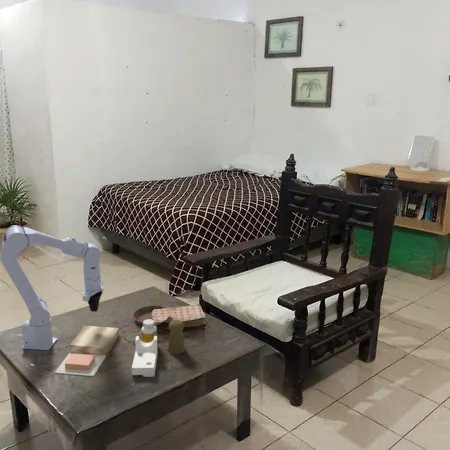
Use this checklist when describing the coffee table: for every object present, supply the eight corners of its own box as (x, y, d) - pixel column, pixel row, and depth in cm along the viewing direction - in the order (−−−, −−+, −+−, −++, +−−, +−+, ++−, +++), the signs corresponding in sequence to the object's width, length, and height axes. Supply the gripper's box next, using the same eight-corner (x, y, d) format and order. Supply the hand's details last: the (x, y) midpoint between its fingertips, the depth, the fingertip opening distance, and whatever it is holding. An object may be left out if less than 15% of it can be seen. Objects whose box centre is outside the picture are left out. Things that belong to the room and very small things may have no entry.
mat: (54, 373, 159) (54, 372, 159) (69, 353, 170) (69, 352, 170) (93, 376, 158) (93, 375, 157) (106, 356, 169) (106, 355, 169)
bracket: (137, 355, 170) (136, 336, 168) (157, 355, 171) (157, 335, 168) (132, 377, 158) (131, 356, 156) (154, 377, 158) (153, 356, 156)
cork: (164, 349, 174) (163, 321, 171) (177, 343, 178) (176, 315, 175) (175, 356, 170) (175, 327, 167) (188, 349, 174) (188, 321, 171)
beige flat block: (70, 352, 171) (69, 345, 170) (85, 332, 184) (84, 325, 183) (106, 355, 169) (106, 347, 169) (119, 335, 183) (118, 328, 182)
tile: (72, 353, 166) (72, 358, 166) (64, 363, 160) (65, 368, 161) (95, 355, 165) (95, 360, 166) (88, 365, 159) (88, 370, 160)
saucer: (140, 332, 186) (139, 325, 185) (128, 315, 198) (128, 309, 198) (176, 324, 192) (176, 318, 192) (163, 308, 205) (163, 302, 204)
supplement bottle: (154, 351, 173) (153, 326, 170) (139, 349, 174) (138, 324, 171) (159, 343, 178) (158, 319, 175) (144, 341, 179) (144, 317, 176)
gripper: (95, 285, 170) (98, 320, 174) (109, 269, 184) (111, 302, 187) (76, 283, 170) (78, 319, 174) (91, 268, 184) (93, 301, 188)
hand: (94, 310), depth 181 cm, fingers closed
